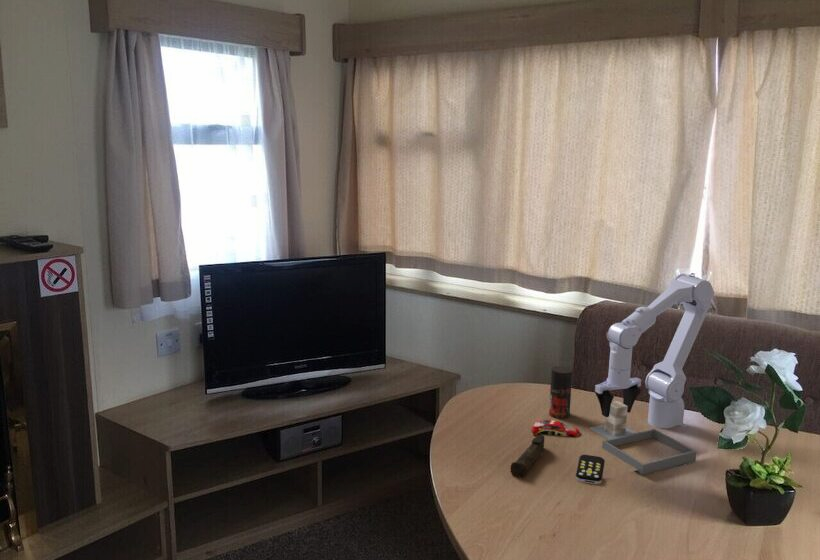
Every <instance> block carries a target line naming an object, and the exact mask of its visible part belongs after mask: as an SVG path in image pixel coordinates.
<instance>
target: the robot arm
mask: <svg viewBox="0 0 820 560" xmlns="http://www.w3.org/2000/svg"><path fill="white" fill-rule="evenodd" d="M714 294H715V291H714V288H713V285H712V283H711V282H710V281H708V280H706V279H701V278H697V277H694V276H690V275H688V274H685V273H680V274H678V275H676V276H675V277H674V278H673V279H672V280H670V281H669V286H668V287H667V288H666V289H665V290H664V291H663V292H662V293H661V294H659V296H657V297H656V298H655V299H654V300H653V301H652V302H651V303H650V304H649V305H648V306H640V307H637V308H635V311H633V312H632V313H631V314H630V315H628V316H627V317H626V318H624V319H623V320H622V321H621V322H616V323H613V324H612V325H610V327H609V328H608V331H607V332H606V338H607V340H608V341H609V347H610V351H609V362H608V363H609V364H608V376H607V378H606V380H604V381H603V382H601V383H599V384H595V385H594V387H595V388H594V393H595V396H596V397H597V400H598V403H599V406H600V412H601V415H602V416H603V417H609V414H610V407H611V403H612V402H613V399H614V397H615V396H614V395H612V394H611V391H617V390H622V396H623V397H622V398H623V399H622V400H623V401H622V402H623V404H625V405H626V406H628V408H627V414H630V413H631V411H632V408H633V407H634V406H633V405H634V403H635V401H636V399H637V398H638V396H639V395H640V394H641V392H642V391H641V388H640V387H641V386H642V379H640V378H638V377H631V370H632V369H631V368H632V357H633V356H632V355H633V347H635V346H636V345H637V343H638V342H639V338H640V337H641V336H642V334H643V333H645V332H646V331H647V330H648V329H649V328H651V327H652V326H653V325H654V324H655V323H656V320H657V316H659V315H660V314H662V313H664V312H665V311H667V310H668V309H669V308H671V307H672V306H674V305H675V304H677V303H678V302H680V303H681V304H682V306H683V308H684V313H683V316H682V318H681V320H680V322H679V325H678V326H677V328H676V331H675V333H674V335H673V338H672V340H671V343H670V345H669V347H668V349H667V352H666V354H665V355H664V359H663V360H662V361H660V362H658V363H656V364H654V365H653V367H652V369H651V370H650V371H649V373H648V374H647V375H646V377H645V381H644V385H645V387H646V389H648V394H649V404H648V415H647V423H648V424H649V425H650V426H652V427H654V428H659V429H672V428H673V427H675V426H680V427H682V428H685V427H686V426H685V425H683V424H684V415H685V402H684V400H683V398H682V396H683V394H684V390H685V383H686V382H687V377H686V375H685V373H684V371H683V367H684V365H685V363H686V361H687V359H688V356H689V354H690V352H691V350H692V347H693V346H694V343H695V341H696V339H697V337H698V334H699V332H700V330H701V327H702V326H703V323H704V321H705V318H706V317H707V314H708V312H709V311H708V310H709V306H710V303H711V301H712V299H713V297H714Z"/></svg>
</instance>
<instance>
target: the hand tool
mask: <svg viewBox="0 0 820 560" xmlns="http://www.w3.org/2000/svg"><path fill="white" fill-rule="evenodd" d="M544 437H545V435H544V434H540V435H538V436H535V437H534V438H533V439H532V440H531V443H530V445H529V446H528V448H526V450H524V452H523V453H522V454H521V455H520V456H519V457H518V458H517V459H516V461H514V462H511V464H510V474H511V476H513V477H514V476H515V477H518V478H524V477H526V474H527V472H528V470H529V469H530V468H531V466H532V465H533V464H534V463H535V462H536V460H537V459H538V458H540V457H542V455H543V451H544V447H545V438H544Z"/></svg>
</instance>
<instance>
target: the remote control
mask: <svg viewBox="0 0 820 560" xmlns="http://www.w3.org/2000/svg"><path fill="white" fill-rule="evenodd" d="M604 464H605V459H604V458H603V457H602V456H596V455H589V454H582V455H580V456H579V459H578V464H577V468H576V472H575V480H576V481H577V482H581V483H585V484H592V485H600V484H602V480H603V473H604V472H603V471H604V466H605V465H604Z"/></svg>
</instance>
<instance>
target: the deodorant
mask: <svg viewBox="0 0 820 560" xmlns="http://www.w3.org/2000/svg"><path fill="white" fill-rule="evenodd" d="M550 371H551V374H550V375H551V376H550V390H549V391H550V392H549V394H550V395H549V405H548V406H549V409H548V410H549V411H548V415H549V417H550V418H554V419H557V420H565V419H568V418H570V417H571V416H570V414H571V397H572V385H573V383H572V381H573V369H572V368H570V367H569V366H563V365H560V366H558V365H556V366H553V367H552V368H551V370H550Z"/></svg>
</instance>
